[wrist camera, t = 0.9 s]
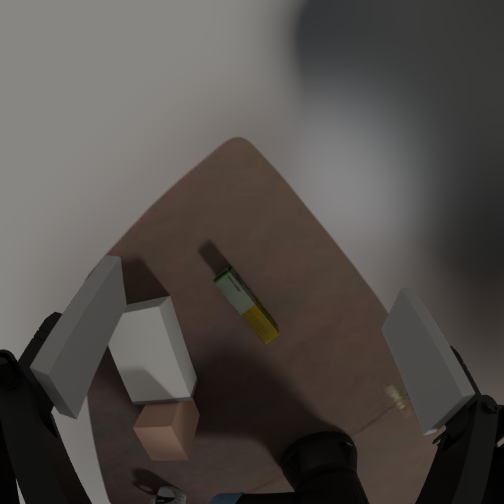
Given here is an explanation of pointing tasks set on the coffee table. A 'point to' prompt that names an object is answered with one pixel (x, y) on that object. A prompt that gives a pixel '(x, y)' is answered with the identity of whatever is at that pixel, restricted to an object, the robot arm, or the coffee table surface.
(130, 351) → the light grey block
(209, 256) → the coffee table surface
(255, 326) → the medication box
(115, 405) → the coffee table surface
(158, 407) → the terracotta stub
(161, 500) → the mug
